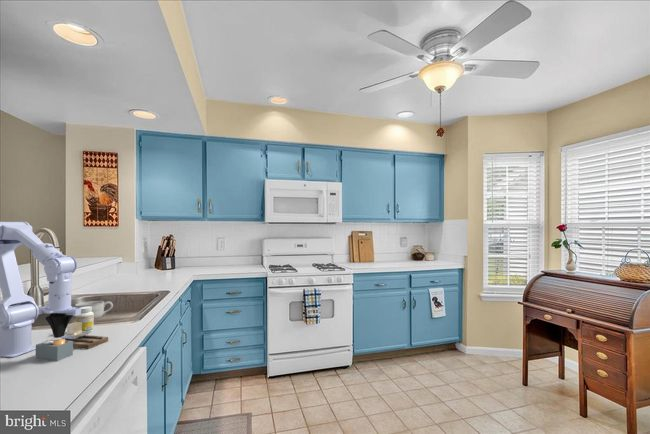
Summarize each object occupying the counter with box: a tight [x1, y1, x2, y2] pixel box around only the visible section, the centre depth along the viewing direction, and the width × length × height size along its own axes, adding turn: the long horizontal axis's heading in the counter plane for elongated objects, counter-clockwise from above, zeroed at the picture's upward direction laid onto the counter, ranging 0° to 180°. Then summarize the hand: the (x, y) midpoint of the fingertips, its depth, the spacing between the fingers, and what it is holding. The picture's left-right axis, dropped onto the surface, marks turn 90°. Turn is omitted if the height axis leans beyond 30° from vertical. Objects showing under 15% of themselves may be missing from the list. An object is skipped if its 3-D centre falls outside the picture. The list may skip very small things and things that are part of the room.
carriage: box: [59, 321, 90, 339], centre depth 116 cm, size 6×6×4 cm
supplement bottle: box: [76, 306, 95, 333], centre depth 128 cm, size 5×5×10 cm
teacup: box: [74, 300, 114, 321], centre depth 144 cm, size 14×11×8 cm
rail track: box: [61, 334, 109, 350], centre depth 115 cm, size 14×8×2 cm, turn 79°
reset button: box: [53, 338, 65, 346], centre depth 103 cm, size 3×3×5 cm
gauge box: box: [35, 338, 74, 362], centre depth 104 cm, size 8×5×5 cm, turn 79°
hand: (59, 336), depth 103 cm, fingers closed
